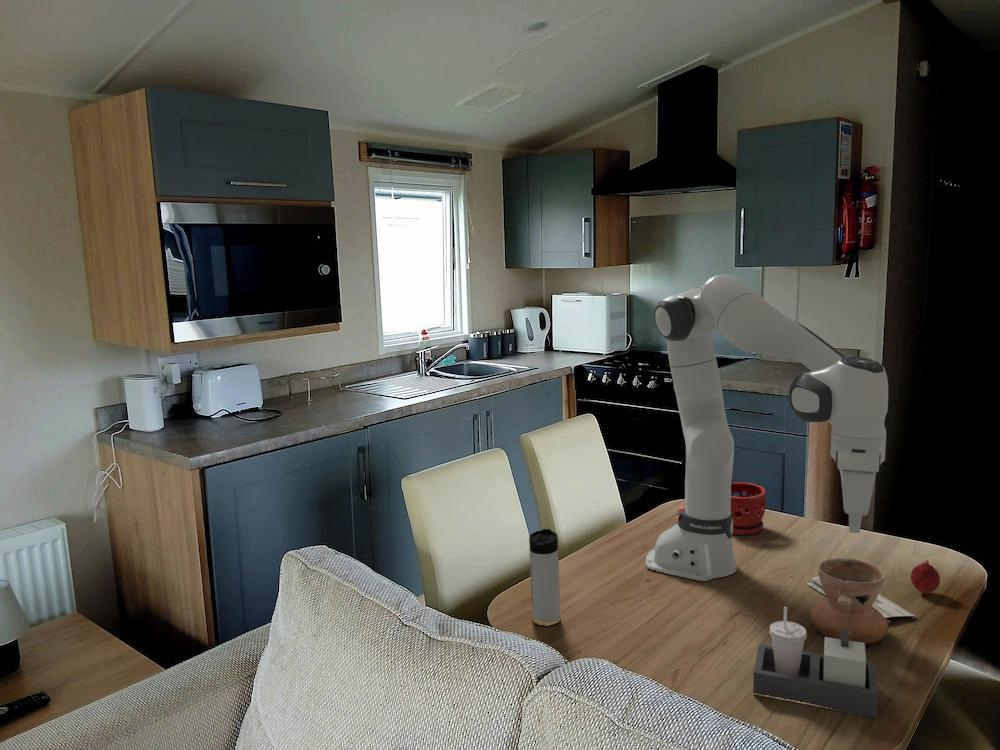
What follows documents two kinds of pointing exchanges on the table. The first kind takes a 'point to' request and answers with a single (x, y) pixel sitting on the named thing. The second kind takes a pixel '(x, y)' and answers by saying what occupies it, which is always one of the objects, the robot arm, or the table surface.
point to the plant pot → (747, 508)
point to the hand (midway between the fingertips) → (854, 522)
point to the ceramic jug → (849, 601)
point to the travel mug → (544, 575)
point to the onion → (925, 577)
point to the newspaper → (880, 604)
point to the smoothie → (787, 645)
